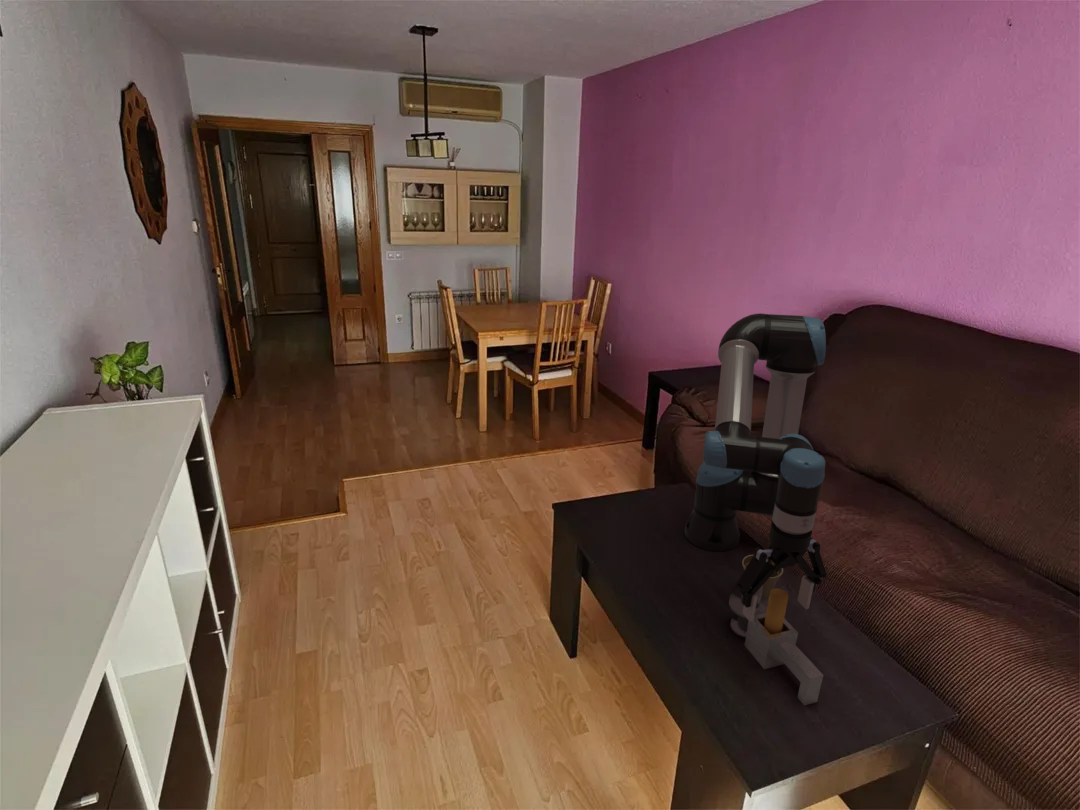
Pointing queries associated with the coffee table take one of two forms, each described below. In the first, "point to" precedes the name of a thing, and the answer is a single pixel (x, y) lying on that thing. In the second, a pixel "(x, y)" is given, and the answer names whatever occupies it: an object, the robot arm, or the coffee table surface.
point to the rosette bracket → (775, 646)
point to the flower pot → (771, 581)
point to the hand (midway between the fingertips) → (775, 611)
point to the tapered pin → (776, 611)
